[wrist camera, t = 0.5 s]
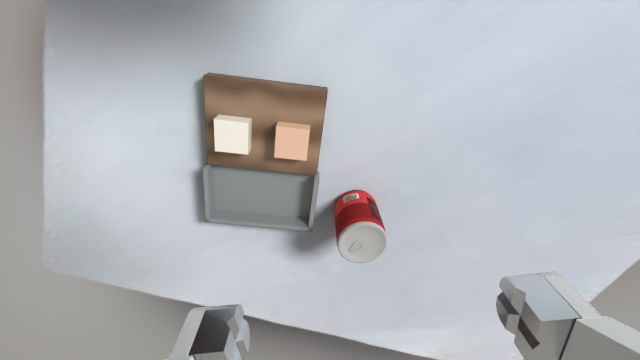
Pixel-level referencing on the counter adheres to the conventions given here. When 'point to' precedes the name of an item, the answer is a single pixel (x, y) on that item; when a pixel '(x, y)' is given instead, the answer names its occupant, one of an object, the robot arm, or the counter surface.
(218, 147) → the tile cream
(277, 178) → the tray
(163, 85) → the counter surface
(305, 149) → the tile terracotta
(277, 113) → the board
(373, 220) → the canned food
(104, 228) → the counter surface
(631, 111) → the counter surface
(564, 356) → the robot arm
